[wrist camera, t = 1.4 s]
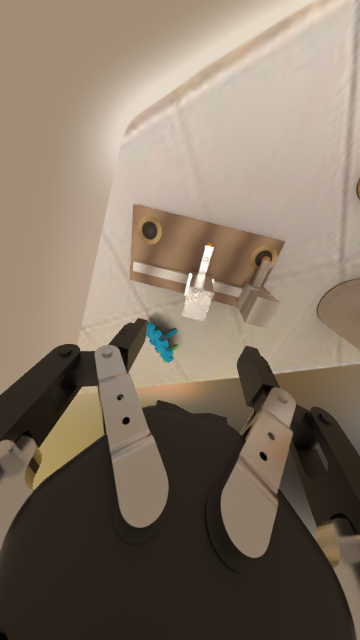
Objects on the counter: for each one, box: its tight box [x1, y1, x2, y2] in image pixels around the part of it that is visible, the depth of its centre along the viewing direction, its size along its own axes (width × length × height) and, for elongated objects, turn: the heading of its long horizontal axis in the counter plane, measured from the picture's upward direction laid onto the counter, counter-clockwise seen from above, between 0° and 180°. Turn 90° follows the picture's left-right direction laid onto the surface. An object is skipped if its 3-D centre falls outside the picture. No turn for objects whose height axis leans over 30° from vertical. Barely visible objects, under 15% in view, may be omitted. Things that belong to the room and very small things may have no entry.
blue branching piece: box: [146, 322, 178, 363], centre depth 35 cm, size 11×6×10 cm
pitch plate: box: [130, 204, 285, 328], centre depth 24 cm, size 24×12×10 cm, turn 78°
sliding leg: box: [182, 242, 214, 322], centre depth 22 cm, size 4×8×10 cm, turn 168°
